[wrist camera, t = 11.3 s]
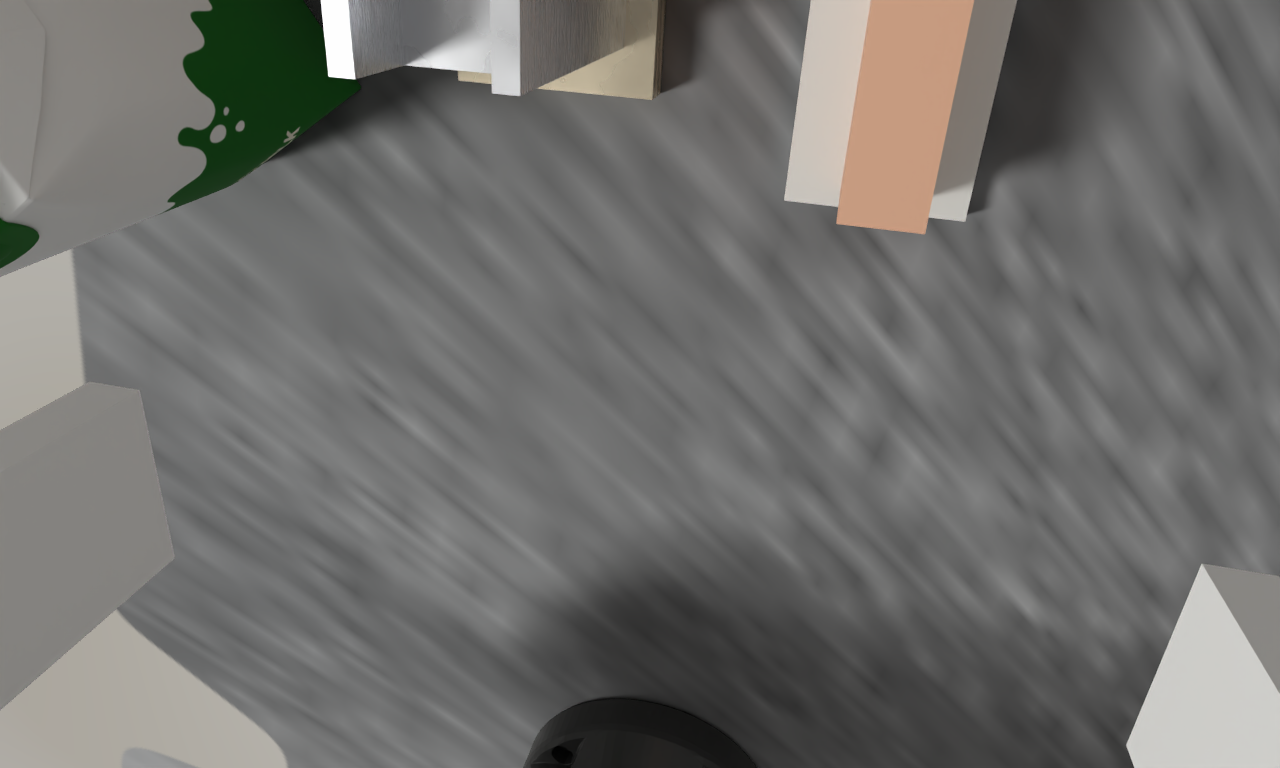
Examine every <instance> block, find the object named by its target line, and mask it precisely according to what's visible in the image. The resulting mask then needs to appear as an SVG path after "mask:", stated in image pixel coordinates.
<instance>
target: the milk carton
mask: <svg viewBox="0 0 1280 768" xmlns="http://www.w3.org/2000/svg"><path fill="white" fill-rule="evenodd" d="M360 89H361V86H360V84H359V83H358V81H357V80H356V79H346V78H337V77H329V75H328V66H327V56H326V47H325V37H324V31H323V29H322V28H321V26H320V25H319V23H318V22H317V20H316V19H315V17H314V16H313V14H312V13H311V11H310V10H309V8H308V7H307V5H306V4H305V2H304V1H303V0H0V277H1V276H3V275H6V274H8V273H11V272H13V271H16V270H18V269H21V268H23V267H25V266H28V265H31V264H33V263H36V262H38V261H41V260H44V259H46V258H49V257H51V256H54V255H56V254H59V253H62V252H64V251H67V250H69V249H72V248H74V247H77V246H80V245H82V244H85V243H87V242H90V241H92V240H95V239H97V238H100V237H103V236H105V235H108V234H110V233H113V232H115V231H118V230H120V229H123V228H125V227H128V226H131V225H133V224H136V223H138V222H141V221H143V220H146V219H148V218H151V217H153V216H156V215H159V214H161V213H164V212H166V211H169V210H171V209H174V208H176V207H179V206H181V205H184V204H186V203H189V202H192V201H194V200H197V199H199V198H202V197H204V196H207V195H209V194H212V193H214V192H217V191H219V190H222V189H224V188H226V187H229V186H231V185H233V184H234V183H236V182H238V181H239V180H241V179H242V178H244V177H245V176H246V175H248V174H249V173H251V172H252V171H254V170H255V169H256V168H258V167H259V166H261V165H262V164H263V163H265V162H266V161H268V160H269V159H270V158H271V157H273V156H274V155H275V154H277V153H278V152H279V151H280V150H282V149H283V148H284V147H286V146H287V145H288V144H289V143H291V142H292V141H293V140H295V139H296V138H297V137H299V136H300V135H301V134H302V133H304V132H305V131H306V130H308V129H309V128H310V127H311V126H313V125H314V124H315V123H317V122H318V121H319V120H320V119H322V118H323V117H324V116H326V115H327V114H328V113H330V112H331V111H332V110H333V109H335V108H336V107H337V106H339V105H340V104H341V103H343V102H344V101H345V100H347V99H348V98H349V97H350V96H352V95H353V94H354V93H356V92H357V91H358V90H360Z"/></svg>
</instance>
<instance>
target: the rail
mask: <svg viewBox="0 0 1280 768" xmlns="http://www.w3.org/2000/svg"><path fill="white" fill-rule="evenodd" d="M973 4H974V0H871V2H870V8H869V14H868V21H867V27H866V33H865V39H864V45H863V52H862V58H861V64H860V70H859V77H858V83H857V89H856V95H855V102H854V108H853V114H852V120H851V126H850V133H849V139H848V145H847V151H846V158H845V164H844V170H843V176H842V182H841V189H840V197H839V206H838V215H837V224H842V225H851V226H859V227H868V228H876V229H885V230H893V231H902V232H910V233H919V234H925V231H926V227H927V222H928V217H929V212H930V208H931V203H932V198H933V193H934V189H935V184H936V179H937V174H938V170H939V165H940V160H941V155H942V151H943V146H944V141H945V136H946V132H947V127H948V122H949V117H950V113H951V108H952V103H953V99H954V94H955V89H956V84H957V80H958V75H959V70H960V65H961V61H962V56H963V51H964V46H965V42H966V37H967V32H968V27H969V23H970V18H971V13H972V8H973Z"/></svg>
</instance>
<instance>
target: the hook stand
mask: <svg viewBox="0 0 1280 768" xmlns="http://www.w3.org/2000/svg"><path fill="white" fill-rule="evenodd" d="M321 8H322V18H323V27H324V37H325V47H326V56H327V66H328V75H329V77H337V78H346V79H358V78H362V77H365V76H369V75H372V74H376V73H379V72H383V71H386V70H390V69H393V68H397V67H401V66H404V65H407V66H417V67H427V68H438V69H448V70H458V81H468V82H478V83H488V84H492V93H494V94H504V95H514V96H522V95H524V94H526V93H528V92H530V91H532V90H535V89H537V88H538V89H548V90H558V91H569V92H579V93H589V94H599V95H609V96H619V97H629V98H639V99H649V100H653V99H654V98H655V97H657V96H658V95H659V94H660V88H661V73H662V57H663V41H664V26H665V10H666V0H321Z"/></svg>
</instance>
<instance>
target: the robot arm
mask: <svg viewBox="0 0 1280 768" xmlns="http://www.w3.org/2000/svg"><path fill="white" fill-rule="evenodd" d="M174 558H175V556H174V551H173V547H172V542H171V537H170V532H169V527H168V523H167V518H166V513H165V508H164V504H163V499H162V494H161V489H160V485H159V480H158V475H157V470H156V466H155V461H154V456H153V451H152V447H151V442H150V437H149V432H148V428H147V423H146V418H145V413H144V408H143V404H142V399H141V394H140V390H136V389H130V388H124V387H118V386H112V385H106V384H100V383H93V382H88V383H86V384H85V385H83V386H81V387H79V388H77V389H75V390H73V391H72V392H70V393H68V394H67V395H64V396H62V397H61V398H59V399H57V400H55V401H53V402H51V403H50V404H48V405H46V406H44V407H42V408H40V409H39V410H37V411H35V412H33V413H31V414H29V415H27V416H26V417H24V418H22V419H20V420H18V421H16V422H14V423H13V424H11V425H9V426H7V427H5V428H3V429H2V430H0V710H1V709H2V708H3V707H5V706H6V705H7V704H8V703H9V702H10V701H11V700H13V699H14V698H15V697H16V696H17V695H18V694H19V693H21V692H22V691H23V690H24V689H25V688H26V687H27V686H29V685H30V684H31V683H32V682H33V681H34V680H35V679H37V678H38V677H39V676H40V675H41V674H42V673H43V672H45V671H46V670H47V669H48V668H49V667H50V666H51V665H53V664H54V663H55V662H56V661H57V660H58V659H60V658H61V657H62V656H63V655H64V654H65V653H66V652H68V651H69V650H70V649H71V648H72V647H73V646H74V645H76V644H77V643H78V642H79V641H80V640H81V639H82V638H84V637H85V636H86V635H87V634H88V633H89V632H91V631H92V630H93V629H94V628H95V627H96V626H97V625H98V624H100V623H101V622H102V621H103V620H104V619H105V618H107V617H108V616H109V615H110V614H111V613H112V612H113V611H115V610H116V609H117V608H118V607H119V606H120V605H121V604H123V603H124V602H125V601H126V600H127V599H128V598H129V597H131V596H132V595H133V594H134V593H135V592H136V591H137V590H139V589H140V588H141V587H142V586H143V585H144V584H146V583H147V582H148V581H149V580H150V579H151V578H152V577H154V576H155V575H156V574H157V573H158V572H159V571H160V570H162V569H163V568H164V567H165V566H166V565H167V564H168V563H170V562H171V561H172V560H173V559H174ZM1126 746H1127V749H1128V752H1129V754H1130V757H1131V760H1132V763H1133V766H1134V768H1280V577H1279V576H1275V575H1269V574H1263V573H1257V572H1251V571H1245V570H1238V569H1232V568H1226V567H1220V566H1214V565H1208V564H1201V567H1200V569H1199V571H1198V574H1197V576H1196V579H1195V581H1194V584H1193V586H1192V588H1191V591H1190V593H1189V596H1188V598H1187V600H1186V603H1185V605H1184V608H1183V610H1182V612H1181V615H1180V617H1179V620H1178V622H1177V624H1176V627H1175V629H1174V632H1173V634H1172V636H1171V639H1170V641H1169V644H1168V646H1167V648H1166V651H1165V653H1164V656H1163V658H1162V660H1161V663H1160V665H1159V668H1158V670H1157V672H1156V675H1155V677H1154V680H1153V682H1152V684H1151V687H1150V689H1149V692H1148V694H1147V696H1146V699H1145V701H1144V704H1143V706H1142V708H1141V711H1140V713H1139V716H1138V718H1137V720H1136V723H1135V725H1134V728H1133V730H1132V733H1131V735H1130V737H1129V740H1128V742H1127V745H1126ZM523 768H756V766H755V765H754V764H753V762H752V761H751V760H750V758H749V757H748V756H747V755H746V754H745V753H744V752H743V751H742V750H741V749H740V748H739V747H738V746H737V745H736V744H735V743H734V742H733V741H731V740H730V739H729V738H728V737H726V736H725V735H724V734H722V733H721V732H720V731H718V730H717V729H715V728H713V727H712V726H710V725H708V724H707V723H705V722H703V721H701V720H699V719H697V718H695V717H693V716H691V715H689V714H686V713H684V712H681V711H678V710H676V709H673V708H670V707H666V706H663V705H659V704H655V703H650V702H644V701H637V700H624V699H612V700H599V701H593V702H588V703H584V704H580V705H577V706H574V707H572V708H569V709H567V710H565V711H563V712H561V713H560V714H558V715H556V716H555V717H554V718H552V719H551V720H550V721H549V722H548V723H547V724H546V725H545V726H544V727H543V728H542V729H541V730H540V732H539V733H538V735H537V737H536V738H535V740H534V743H533V745H532V748H531V750H530V753H529V755H528V757H527V760H526V762H525V765H524V767H523Z"/></svg>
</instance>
